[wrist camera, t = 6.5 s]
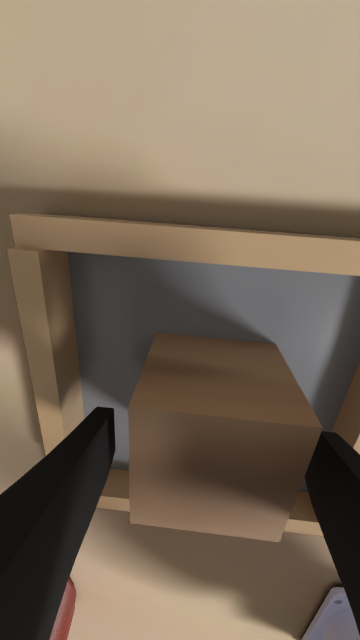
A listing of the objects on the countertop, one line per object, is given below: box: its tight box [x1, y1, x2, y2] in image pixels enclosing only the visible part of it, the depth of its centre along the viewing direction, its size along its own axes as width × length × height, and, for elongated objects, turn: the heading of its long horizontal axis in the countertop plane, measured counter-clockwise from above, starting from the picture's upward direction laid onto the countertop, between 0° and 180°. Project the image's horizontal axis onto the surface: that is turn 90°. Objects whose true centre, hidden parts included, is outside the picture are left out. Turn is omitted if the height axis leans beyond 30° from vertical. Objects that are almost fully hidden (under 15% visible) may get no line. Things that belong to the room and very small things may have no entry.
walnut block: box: [128, 333, 323, 542], centre depth 10 cm, size 5×5×4 cm
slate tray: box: [7, 213, 360, 536], centre depth 11 cm, size 14×14×2 cm
